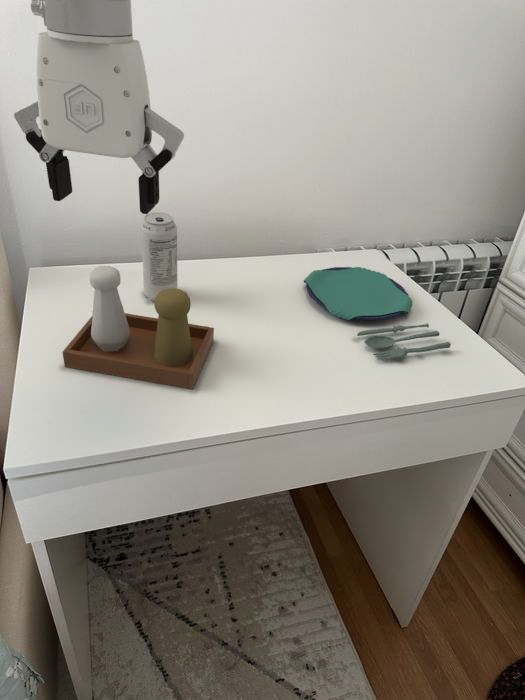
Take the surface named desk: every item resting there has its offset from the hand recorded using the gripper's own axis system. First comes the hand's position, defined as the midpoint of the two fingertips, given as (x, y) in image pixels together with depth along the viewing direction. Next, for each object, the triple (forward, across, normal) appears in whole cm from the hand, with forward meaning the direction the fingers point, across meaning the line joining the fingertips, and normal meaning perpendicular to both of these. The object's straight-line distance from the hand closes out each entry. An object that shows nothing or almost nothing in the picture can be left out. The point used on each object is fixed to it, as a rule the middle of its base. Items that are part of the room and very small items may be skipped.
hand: (105, 203), depth 58 cm
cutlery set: (+28, +34, +35) cm, 56 cm away
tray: (+28, -1, +11) cm, 30 cm away
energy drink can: (+28, -4, +29) cm, 41 cm away
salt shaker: (+28, -6, +11) cm, 30 cm away
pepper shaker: (+28, +4, +11) cm, 30 cm away
